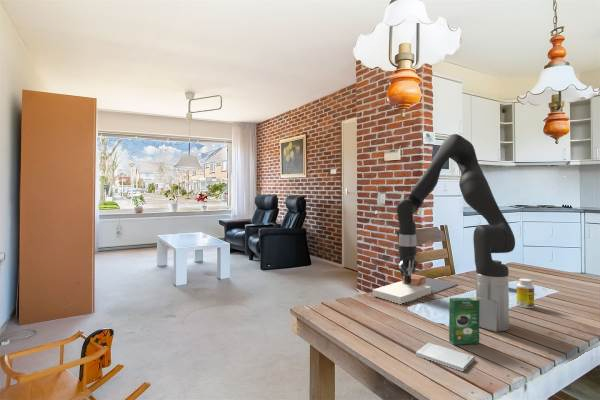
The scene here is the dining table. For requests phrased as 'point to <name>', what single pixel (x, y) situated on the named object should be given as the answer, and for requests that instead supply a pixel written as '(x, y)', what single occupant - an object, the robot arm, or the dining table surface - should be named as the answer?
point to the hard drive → (445, 356)
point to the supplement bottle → (525, 293)
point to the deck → (401, 292)
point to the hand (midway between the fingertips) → (407, 283)
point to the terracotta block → (415, 280)
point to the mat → (438, 285)
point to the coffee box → (464, 321)
